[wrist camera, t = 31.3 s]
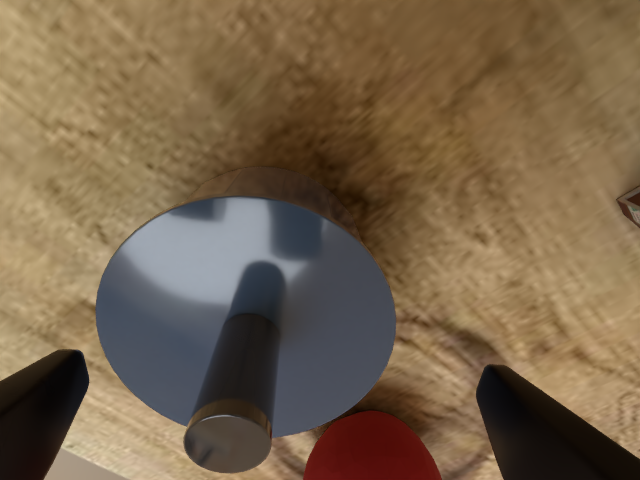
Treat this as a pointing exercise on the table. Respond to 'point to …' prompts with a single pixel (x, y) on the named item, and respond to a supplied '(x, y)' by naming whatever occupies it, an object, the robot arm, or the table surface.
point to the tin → (279, 190)
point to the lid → (245, 322)
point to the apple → (370, 451)
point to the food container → (631, 205)
